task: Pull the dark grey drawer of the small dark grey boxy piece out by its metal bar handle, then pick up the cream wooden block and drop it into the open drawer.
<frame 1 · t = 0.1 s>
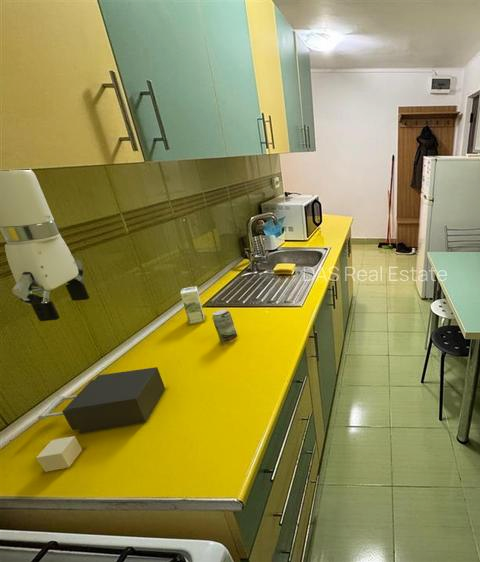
hand: (66, 309, 66), 33 cm above the counter, tool pointing down, fingers open, 9 cm apart
syrup box: (197, 320, 128), on the counter
beverage can: (228, 340, 114), on the counter
block: (64, 460, 69), on the counter
dark grey boxy piece: (126, 409, 83), on the counter
dark grey drawer: (96, 401, 80), point 4 cm above the counter, slide at 0.5 cm
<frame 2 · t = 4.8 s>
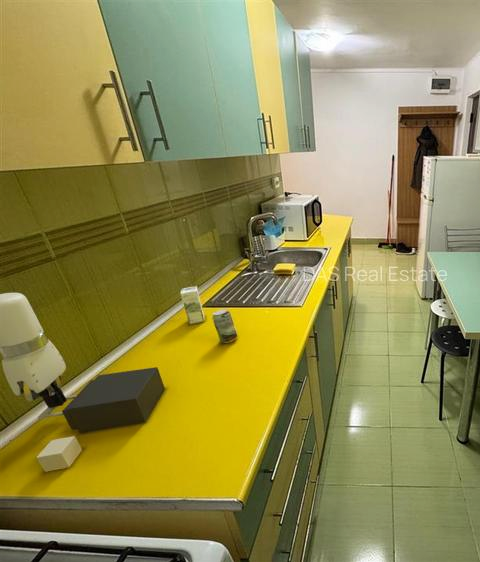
hand: (57, 404, 78), 5 cm above the counter, tool pointing down, fingers closed
dark grey drawer: (95, 401, 80), point 4 cm above the counter, slide at 0.5 cm, touching gripper
everything else where it was.
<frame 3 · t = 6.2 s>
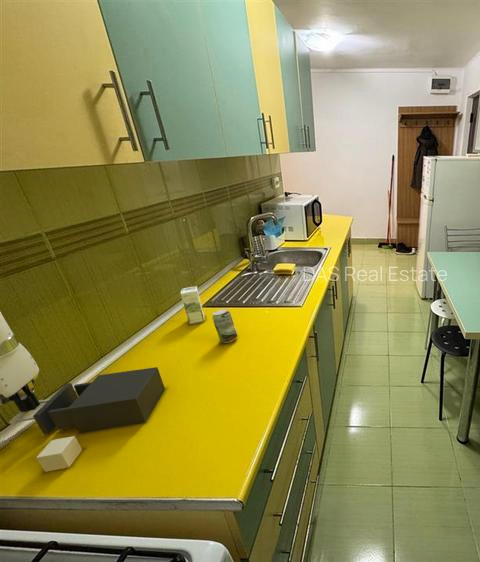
hand: (30, 408, 77), 5 cm above the counter, tool pointing down, fingers closed
dark grey drawer: (69, 405, 79), point 4 cm above the counter, slide at 6.4 cm, touching gripper
everything else where it was.
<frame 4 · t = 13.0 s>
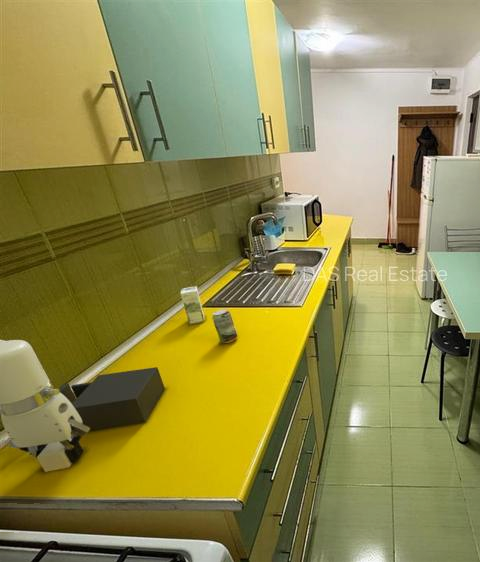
hand: (63, 459, 69), 0 cm above the counter, tool pointing down, fingers closed on block, 4 cm apart
block: (64, 460, 69), on the counter, touching gripper
dark grey drawer: (67, 406, 79), point 4 cm above the counter, slide at 7.0 cm
everything else where it was.
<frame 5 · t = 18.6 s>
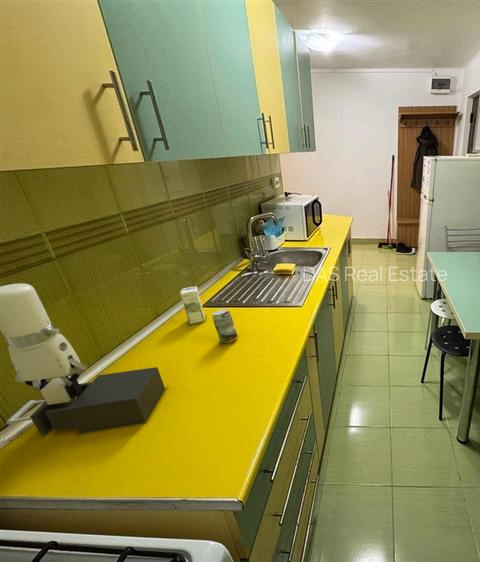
hand: (64, 395, 78), 7 cm above the counter, tool pointing down, fingers closed on block, 4 cm apart
block: (64, 397, 78), point 7 cm above the counter, touching gripper
dark grey drawer: (67, 406, 79), point 4 cm above the counter, slide at 7.0 cm, touching gripper
everything else where it was.
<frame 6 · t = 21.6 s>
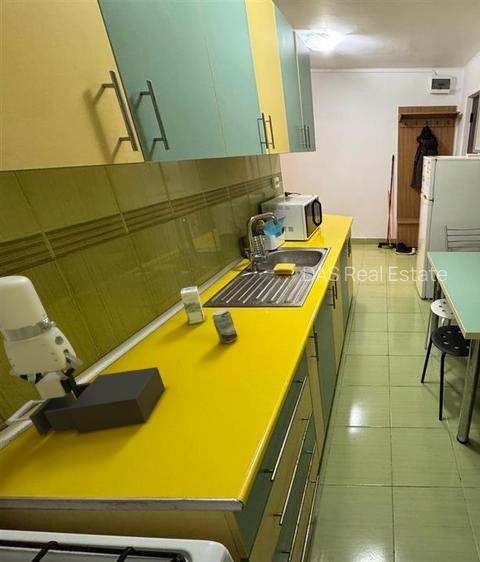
hand: (59, 390, 77), 9 cm above the counter, tool pointing down, fingers closed on block, 4 cm apart
block: (59, 391, 77), point 9 cm above the counter, touching gripper
dark grey drawer: (66, 406, 79), point 4 cm above the counter, slide at 7.1 cm
everything else where it was.
when the fingers open (10 cm above the counter, at t = 30.7 s): block drops 8 cm, resting on dark grey drawer.
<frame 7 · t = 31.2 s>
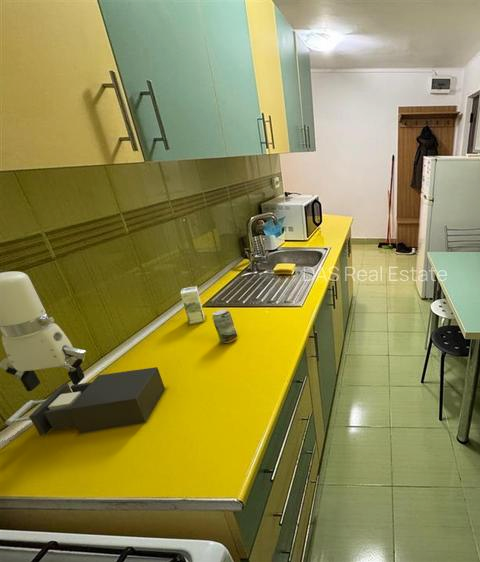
hand: (57, 384, 76), 11 cm above the counter, tool pointing down, fingers open, 9 cm apart
block: (71, 412, 80), point 2 cm above the counter, touching dark grey drawer
dark grey drawer: (66, 406, 79), point 4 cm above the counter, slide at 7.1 cm, touching block
everything else where it was.
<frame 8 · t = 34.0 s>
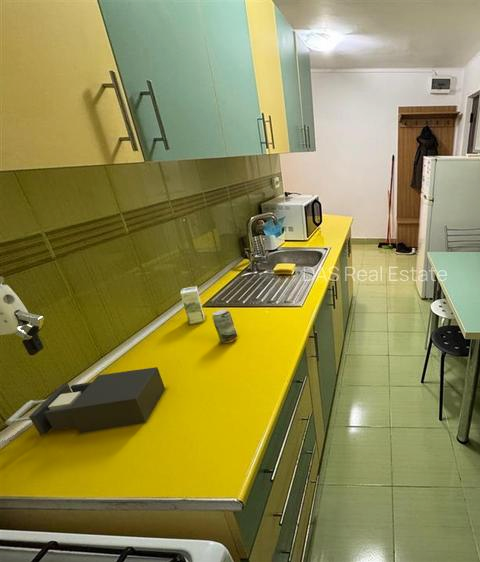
hand: (11, 355, 67), 23 cm above the counter, tool pointing down, fingers open, 9 cm apart
nothing on the counter moved.
at the end: dark grey drawer slide at 7.1 cm; block inside the target area in the dark grey drawer (2.0 cm from its centre), point 2.0 cm above the dark grey boxy piece's base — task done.
